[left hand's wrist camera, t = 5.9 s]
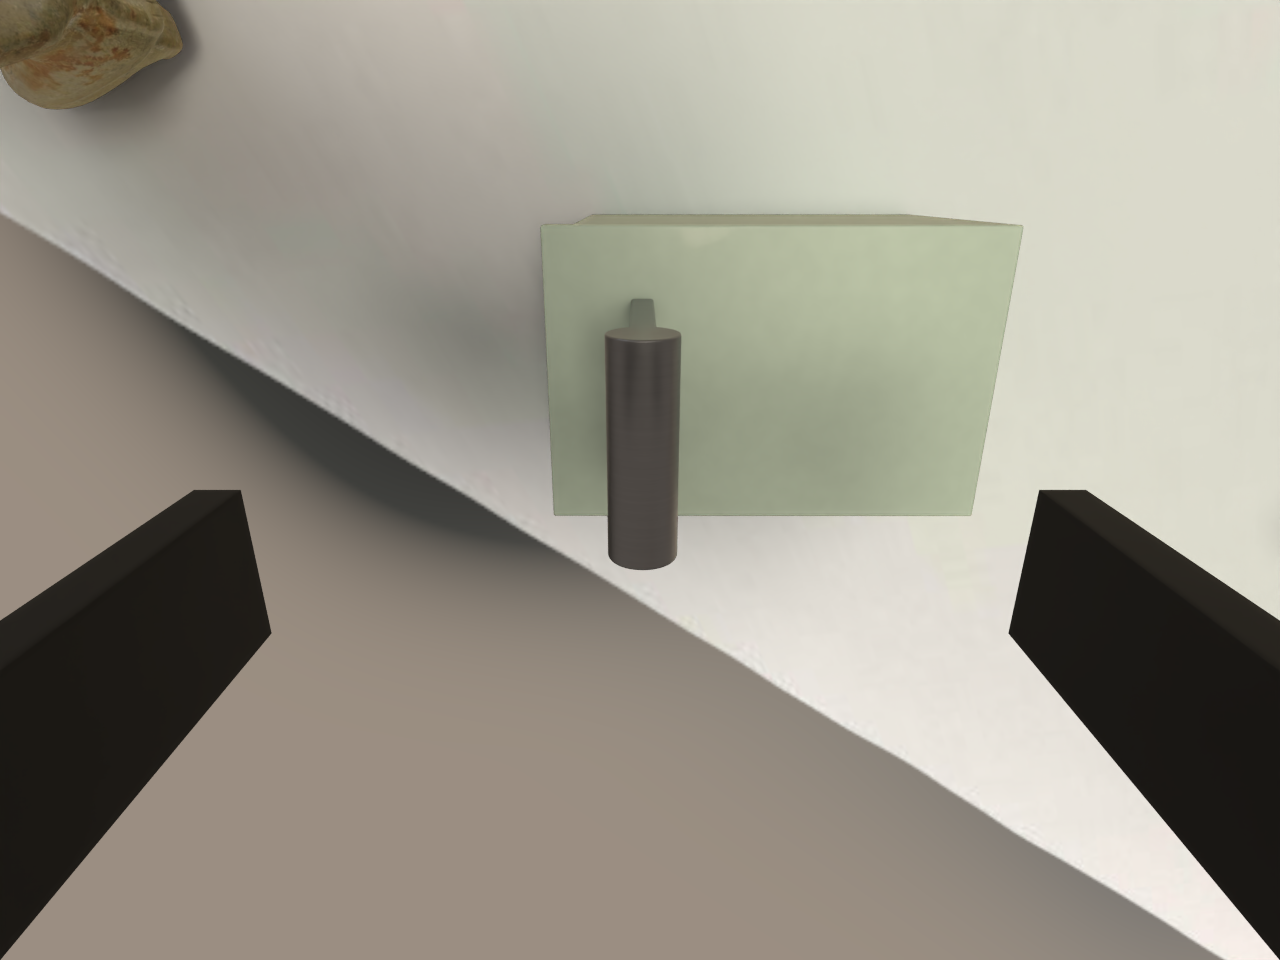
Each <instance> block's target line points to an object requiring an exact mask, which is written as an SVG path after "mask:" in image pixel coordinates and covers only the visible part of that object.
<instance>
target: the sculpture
mask: <svg viewBox="0 0 1280 960" xmlns="http://www.w3.org/2000/svg"><path fill="white" fill-rule="evenodd" d="M182 47H183V43H182V39H181V36H180V34H179V32H178V29H177V27H176V24H175V22H174V20H173V18H172V16H171V14H170V13H169V12H168V11H167V10H165V9H164V8H163V7H162V6H161V5H160V4H159V3H158V2H157V1H156V0H0V69H1V71H2V73H3V76H4V78H5V80H6V81H7V83H8V85H9V86H10V87H11V88H12V89H13V90H14V91H15V92H16V93H17V94H18V95H19V96H21V97H22V98H24V99H25V100H27V101H28V102H30V103H33V104H35V105H38V106H40V107H43V108H48V109H68V108H73V107H78V106H82V105H84V104H87V103H89V102H92V101H94V100H96V99H97V98H99V97H101V96H103V95H104V94H106V93H108V92H109V91H111V90H112V89H114V88H115V87H117V86H118V85H120V84H121V83H123V82H124V81H126V80H127V79H128V78H130V77H131V76H132V75H133V74H135V73H136V72H138V71H139V70H141V69H142V68H144V67H146V66H148V65H150V64H152V63H154V62H156V61H159V60H161V59H170V58H172V57H174V56H176V55H177V54H178V53H179V52H180V51H181V50H182Z"/></svg>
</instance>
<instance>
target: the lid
mask: <svg viewBox="0 0 1280 960" xmlns="http://www.w3.org/2000/svg"><path fill="white" fill-rule="evenodd" d="M540 228H541V250H542V271H543V292H544V314H545V335H546V356H547V378H548V399H549V420H550V442H551V463H552V484H553V506H554V515H555V516H608V555H609V557H610V559H611V560H612V561H613V562H614V563H615V564H617V565H619V566H621V567H625V568H628V569H635V570H651V569H657V568H661V567H664V566H666V565H668V564H670V563H672V562H673V561H674V560H675V558H676V556H677V527H678V516H971V514H972V509H973V503H974V498H975V492H976V486H977V481H978V475H979V470H980V464H981V459H982V453H983V448H984V442H985V437H986V431H987V426H988V420H989V415H990V409H991V404H992V398H993V393H994V387H995V381H996V376H997V370H998V365H999V359H1000V354H1001V348H1002V343H1003V337H1004V332H1005V326H1006V321H1007V315H1008V310H1009V304H1010V299H1011V293H1012V288H1013V282H1014V277H1015V271H1016V265H1017V260H1018V254H1019V249H1020V243H1021V238H1022V232H1023V226H1022V225H1014V224H544V225H542V226H541V227H540Z"/></svg>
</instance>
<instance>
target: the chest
mask: <svg viewBox="0 0 1280 960" xmlns="http://www.w3.org/2000/svg"><path fill="white" fill-rule="evenodd" d="M575 224H1003V223H992V222H981V221H971V220H960V219H949V218H939V217H928V216H918V215H591V216H589V217H587V218H585V219H583V220H581V221H579V222H577V223H575Z"/></svg>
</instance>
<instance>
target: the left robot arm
mask: <svg viewBox="0 0 1280 960" xmlns="http://www.w3.org/2000/svg"><path fill="white" fill-rule="evenodd" d="M270 634H271V629H270V624H269V620H268V615H267V610H266V606H265V601H264V597H263V592H262V587H261V582H260V578H259V573H258V568H257V564H256V559H255V555H254V550H253V545H252V541H251V536H250V531H249V527H248V522H247V517H246V513H245V508H244V503H243V499H242V494H241V490H193V491H192V492H190V493H189V494H188V495H186V496H185V497H183V498H182V499H180V500H179V501H177V502H176V503H174V504H173V505H171V506H170V507H168V508H167V509H165V510H164V511H162V512H161V513H159V514H158V515H156V516H155V517H153V518H152V519H150V520H149V521H147V522H146V523H145V524H143V525H141V526H140V527H139V528H137V529H136V530H134V531H133V532H131V533H130V534H128V535H127V536H125V537H124V538H122V539H121V540H119V541H118V542H116V543H115V544H113V545H112V546H110V547H109V548H107V549H106V550H104V551H103V552H102V553H100V554H99V555H97V556H96V557H94V558H93V559H91V560H90V561H88V562H87V563H85V564H84V565H82V566H81V567H79V568H78V569H76V570H75V571H73V572H72V573H70V574H69V575H67V576H66V577H64V578H63V579H61V580H60V581H58V582H57V583H55V584H54V585H53V586H51V587H49V588H48V589H47V590H45V591H44V592H42V593H41V594H39V595H38V596H36V597H35V598H33V599H32V600H30V601H29V602H27V603H26V604H24V605H23V606H21V607H20V608H18V609H17V610H15V611H14V612H12V613H11V614H9V615H8V616H7V617H5V618H4V619H2V620H1V621H0V960H1V958H2V957H3V956H4V955H5V954H6V952H7V951H8V950H9V949H10V948H11V946H12V945H13V944H14V943H15V942H16V940H17V939H18V938H19V937H20V935H21V934H22V933H23V932H24V931H25V929H26V928H27V927H28V926H29V925H30V923H31V922H32V921H33V920H34V919H35V917H36V916H37V915H38V914H39V913H40V911H41V910H42V909H43V908H44V907H45V905H46V904H47V903H48V902H49V901H50V899H51V898H52V897H53V896H54V895H55V893H56V892H57V891H58V890H59V889H60V887H61V886H62V885H63V884H64V883H65V881H66V880H67V879H68V878H69V877H70V875H71V874H72V873H73V872H74V871H75V869H76V868H77V867H78V866H79V864H80V863H81V862H82V861H83V860H84V858H85V857H86V856H87V855H88V854H89V852H90V851H91V850H92V849H93V848H94V846H95V845H96V844H97V843H98V842H99V840H100V839H101V838H102V837H103V836H104V834H105V833H106V832H107V831H108V830H109V828H110V827H111V826H112V825H113V824H114V822H115V821H116V820H117V819H118V818H119V816H120V815H121V814H122V813H123V812H124V810H125V809H126V808H127V807H128V805H129V804H130V803H131V802H132V801H133V799H134V798H135V797H136V796H137V795H138V793H139V792H140V791H141V790H142V789H143V787H144V786H145V785H146V784H147V782H148V781H149V780H150V779H151V778H152V777H153V775H154V774H155V773H156V772H157V771H158V769H159V768H160V767H161V766H162V765H163V763H164V762H165V761H166V760H167V759H168V757H169V756H170V755H171V754H172V752H173V751H174V750H175V749H176V748H177V746H178V745H179V744H180V743H181V742H182V740H183V739H184V738H185V737H186V736H187V734H188V733H189V732H190V731H191V730H192V728H193V727H194V726H195V725H196V724H197V722H198V721H199V720H200V719H201V718H202V716H203V715H204V714H205V713H206V711H207V710H208V709H209V708H210V707H211V706H212V704H213V703H214V702H215V701H216V700H217V698H218V697H219V696H220V695H221V693H222V692H223V691H224V690H225V689H226V687H227V686H228V685H229V684H230V683H231V681H232V680H233V679H234V678H235V677H236V675H237V674H238V673H239V672H240V670H241V669H242V668H243V667H244V666H245V665H246V663H247V662H248V661H249V660H250V658H251V657H252V656H253V655H254V654H255V652H256V651H257V650H258V649H259V648H260V647H261V645H262V644H263V643H264V642H265V640H266V639H267V638H268V637H269V636H270ZM1009 634H1010V636H1011V637H1012V638H1013V639H1014V640H1015V642H1016V643H1017V644H1018V645H1019V647H1020V648H1021V649H1022V650H1023V651H1024V653H1025V654H1026V655H1027V656H1028V657H1029V659H1030V660H1031V661H1032V662H1033V663H1034V665H1035V666H1036V667H1037V668H1038V669H1039V671H1040V672H1041V673H1042V674H1043V675H1044V677H1045V678H1046V679H1047V680H1048V681H1049V683H1050V684H1051V685H1052V686H1053V687H1054V689H1055V690H1056V691H1057V692H1058V693H1059V695H1060V696H1061V697H1062V698H1063V700H1064V701H1065V702H1066V703H1067V704H1068V706H1069V707H1070V708H1071V709H1072V710H1073V712H1074V713H1075V714H1076V715H1077V716H1078V718H1079V719H1080V720H1081V721H1082V722H1083V724H1084V725H1085V726H1086V727H1087V728H1088V730H1089V731H1090V732H1091V733H1092V734H1093V736H1094V737H1095V738H1096V739H1097V740H1098V742H1099V743H1100V744H1101V745H1102V746H1103V748H1104V749H1105V750H1106V751H1107V753H1108V754H1109V755H1110V756H1111V757H1112V759H1113V760H1114V761H1115V762H1116V763H1117V765H1118V766H1119V767H1120V768H1121V769H1122V771H1123V772H1124V773H1125V774H1126V775H1127V777H1128V778H1129V779H1130V780H1131V781H1132V783H1133V784H1134V785H1135V786H1136V787H1137V789H1138V790H1139V791H1140V792H1141V793H1142V795H1143V796H1144V797H1145V798H1146V799H1147V801H1148V802H1149V803H1150V804H1151V805H1152V807H1153V808H1154V809H1155V810H1156V812H1157V813H1158V814H1159V815H1160V816H1161V818H1162V819H1163V820H1164V821H1165V822H1166V824H1167V825H1168V826H1169V827H1170V828H1171V830H1172V831H1173V832H1174V833H1175V834H1176V836H1177V837H1178V838H1179V839H1180V840H1181V842H1182V843H1183V844H1184V845H1185V846H1186V848H1187V849H1188V850H1189V851H1190V852H1191V854H1192V855H1193V856H1194V857H1195V858H1196V860H1197V861H1198V862H1199V863H1200V865H1201V866H1202V867H1203V868H1204V869H1205V871H1206V872H1207V873H1208V874H1209V875H1210V877H1211V878H1212V879H1213V880H1214V881H1215V883H1216V884H1217V885H1218V886H1219V887H1220V889H1221V890H1222V891H1223V892H1224V893H1225V895H1226V896H1227V897H1228V898H1229V899H1230V901H1231V902H1232V903H1233V904H1234V905H1235V907H1236V908H1237V909H1238V910H1239V911H1240V913H1241V914H1242V915H1243V916H1244V917H1245V919H1246V920H1247V921H1248V922H1249V924H1250V925H1251V926H1252V927H1253V928H1254V930H1255V931H1256V932H1257V933H1258V934H1259V936H1260V937H1261V938H1262V939H1263V940H1264V942H1265V943H1266V944H1267V945H1268V946H1269V948H1270V949H1271V950H1272V951H1273V952H1274V954H1275V955H1276V956H1277V957H1278V958H1279V960H1280V621H1279V620H1278V619H1276V618H1275V617H1274V616H1272V615H1271V614H1269V613H1268V612H1266V611H1265V610H1263V609H1262V608H1260V607H1259V606H1257V605H1256V604H1254V603H1253V602H1251V601H1250V600H1248V599H1247V598H1245V597H1244V596H1242V595H1241V594H1239V593H1238V592H1236V591H1235V590H1233V589H1232V588H1230V587H1229V586H1228V585H1226V584H1225V583H1223V582H1222V581H1220V580H1219V579H1217V578H1216V577H1214V576H1213V575H1211V574H1210V573H1208V572H1207V571H1205V570H1204V569H1202V568H1201V567H1199V566H1198V565H1196V564H1195V563H1193V562H1192V561H1190V560H1189V559H1187V558H1186V557H1185V556H1183V555H1182V554H1180V553H1179V552H1177V551H1176V550H1174V549H1173V548H1171V547H1170V546H1168V545H1167V544H1165V543H1164V542H1162V541H1161V540H1159V539H1158V538H1156V537H1155V536H1153V535H1152V534H1150V533H1149V532H1147V531H1146V530H1144V529H1143V528H1141V527H1140V526H1139V525H1137V524H1136V523H1134V522H1133V521H1131V520H1130V519H1128V518H1127V517H1125V516H1124V515H1122V514H1121V513H1119V512H1118V511H1116V510H1115V509H1113V508H1112V507H1110V506H1109V505H1107V504H1106V503H1104V502H1103V501H1101V500H1100V499H1098V498H1097V497H1095V496H1094V495H1093V494H1091V493H1090V492H1088V491H1087V490H1039V494H1038V499H1037V503H1036V508H1035V513H1034V517H1033V522H1032V527H1031V531H1030V536H1029V540H1028V545H1027V550H1026V554H1025V559H1024V564H1023V568H1022V573H1021V578H1020V582H1019V587H1018V592H1017V596H1016V601H1015V606H1014V610H1013V615H1012V620H1011V624H1010V629H1009Z"/></svg>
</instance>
